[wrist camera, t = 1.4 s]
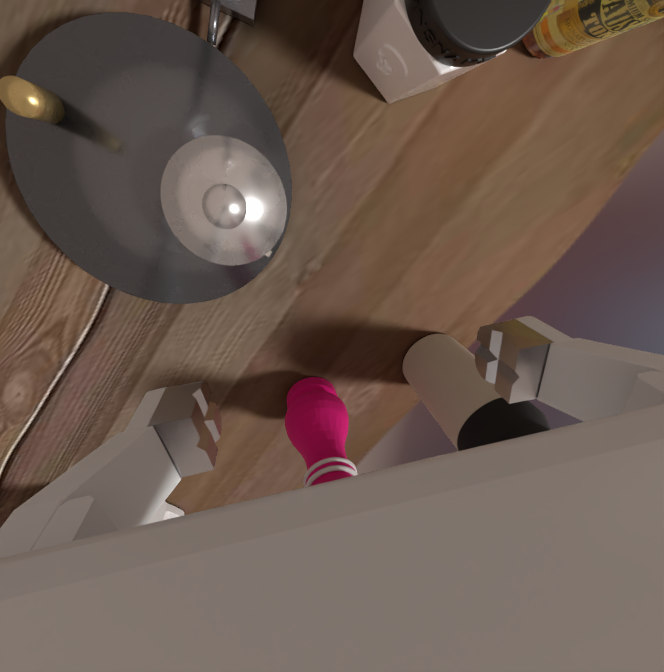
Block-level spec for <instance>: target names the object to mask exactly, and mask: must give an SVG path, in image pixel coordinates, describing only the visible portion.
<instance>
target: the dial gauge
mask: <svg viewBox="0 0 664 672" xmlns="http://www.w3.org/2000/svg"><path fill="white" fill-rule="evenodd" d="M197 1H200V2H202V3H204V4H206V5H208V6H210V7H211V9H210V18H209V26H208V35H207V42H209V43H210V44H212V45H216V39H217V31H218V23H219V15H220V11H221V12H223V13H225V14H228V15H230V16H232V17H234V18H236V19H238V20H241V21H243V22H245V23H247V24H249V25H251V26H253V27H254V21H255V15H256V8H257V2H258V0H197Z"/></svg>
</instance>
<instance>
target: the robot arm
mask: <svg viewBox="0 0 664 672" xmlns="http://www.w3.org/2000/svg"><path fill="white" fill-rule="evenodd" d="M477 340H478V342H479V343H480V344H481V345H480V346H479V348H478V349H477V350H476V352H475V364H476V368H477V371H478V372H479V374H480V376H481V377H482V378H483V379H484V380H485V381H488V382H490V383H493V384H495V388H494V390H495V391H496V392H497V393H498V394H499V395H500V396H501V397H502V398H504V399H505V400H506V401H507V402H508V403H509V404H511V403H516V402H521V401H526V400H532V399H537V400H539V401H541V402H543V403H545V404H547V405H549V406H552V407H554V408H556V409H558V410H560V411H562V412H565V413H567V414H569V415H571V416H573V417H575V418H578V419H580V420H582V421H584V422H583V423H579V424H574V425H570V426H565V427H561V428H557V429H552V430H548V431H544V432H539V433H535V434H531V435H526V436H522V437H518V438H514V439H509V440H505V441H501V442H496V443H492V444H488V445H483V446H479V447H475V448H470V449H466V450H462V451H457V452H453V453H449V454H445V455H440V456H436V457H432V458H428V459H423V460H419V461H415V462H410V463H406V464H402V465H398V466H394V467H389V468H385V469H381V470H376V471H372V472H368V473H364V474H359V475H355V476H351V477H346V478H342V479H338V480H334V481H329V482H325V483H321V484H317V485H312V486H308V487H304V488H299V489H295V490H291V491H287V492H282V493H278V494H274V495H269V496H265V497H261V498H256V499H252V500H248V501H244V502H239V503H235V504H231V505H226V506H222V507H218V508H214V509H209V510H205V511H201V512H196V513H192V514H188V515H184V512H183V511H182V510H181V509H179V508H177V507H175V506H173V505H170V504H168V503H167V502H165V499H166V498H167V497H168V496H169V494H170V493H171V492H172V491H173V489H174V488H175V487H176V485H177V484H178V483H179V482H180V480H181V478H182V477H186V476H190V475H194V474H198V473H202V472H206V471H210V470H214V467H215V462H216V456H217V451H218V449H217V446H216V444H215V442H216V441H217V440H218V439H219V438H220V435H221V417H220V413H219V410H218V407H217V405H216V404H215V403H213V402H212V401H210V399H211V395H212V391H211V389H210V387H209V384H208V383H207V382H206V381H199V382H193V383H188V384H182V385H176V386H171V387H165V388H160V389H155V390H151V391H148V392H146V394H145V396H144V397H143V399H142V401H141V403H140V405H139V406H138V408H137V410H136V412H135V413H134V415H133V417H132V419H131V421H130V422H129V424H128V426H127V428H126V429H125V431H124V432H120V433H117V434H116V435H115V436H113V437H112V438H111V439H109V440H108V441H106V442H105V443H104V444H102V445H101V446H100V447H98V448H97V449H96V450H94V451H93V452H92V453H90V454H89V455H88V456H86V457H85V458H84V459H82V460H81V461H80V462H78V463H77V464H76V465H74V466H73V467H71V468H70V469H69V470H67V471H66V472H65V473H63V474H62V475H61V476H59V477H58V478H57V479H55V480H54V481H53V482H51V483H50V484H49V485H47V486H46V487H45V488H43V489H42V490H41V491H39V492H38V493H36V494H35V495H34V496H32V497H31V498H30V499H28V500H27V501H26V502H24V503H23V504H22V505H20V506H19V507H18V508H16V509H15V510H14V511H13V512H12V513H11V515H10V516H9V517H8V519H7V520H6V521H5V523H4V524H3V525H2V527H1V528H0V672H664V355H659V354H654V353H649V352H644V351H639V350H634V349H629V348H625V347H619V346H615V345H610V344H605V343H600V342H595V341H590V340H585V339H580V338H576V339H572V338H570V337H568V336H567V335H565V334H563V333H561V332H560V331H558V330H556V329H554V328H552V327H551V326H549V325H547V324H545V323H543V322H541V321H540V320H538V319H536V318H534V317H531V316H525V317H521V318H517V319H512V320H509V321H505V322H500V323H495V324H491V325H486V326H482V327H480V328H479V330H478V333H477Z"/></svg>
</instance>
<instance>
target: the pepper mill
mask: <svg viewBox="0 0 664 672" xmlns="http://www.w3.org/2000/svg"><path fill="white" fill-rule="evenodd" d="M287 409H288V410H287V412H286V416H285V426H286V430H287V434H288V437H289V439H290V440H291V442H292V444H293V445H294V447H295V448H296V449H297V450H298V451H299V452H300V453H301V455H302V456H303V458H304V460H305V462H306V465H307V472H306V474H305V476H304V487H308V486H312V485H317V484H321V483H325V482H329V481H334V480H338V479H342V478H346V477H351V476H355V475H358V474H357V470H356V467H355V465H354V464H353V463H352V462H351V461H349V460H348V459H347V457H346V453H345V449H344V444H345V440H346V436H347V432H348V423H349V420H348V413H347V410H346V407H345V405H344V403H343V402H342V400H341V399H340V398H339V397H337V394H336V391H335V388H334V387H333V385H332V384H331V383H330V382H329V381H327V380H326V379H323V378H320V377H308V378H305V379H302V380H300V381H298V382H297V383H295V384H294V385H293V386H292V387H291V389H290V390H289V392H288V394H287Z"/></svg>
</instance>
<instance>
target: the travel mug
mask: <svg viewBox="0 0 664 672" xmlns="http://www.w3.org/2000/svg"><path fill="white" fill-rule="evenodd" d="M403 374H404V376H405V378H406V380H407V381H408V382H409V384H410V385H411V386H412V388H413V389H414V391H415V392H416V393H417V395H418V396H419V397H420V399H421V400H422V402H423V403H424V404H425V406H426V407H427V408H428V410H429V411H430V412H431V414H432V415H433V417H434V418H435V419H436V421H437V422H438V424H439V425H440V426H441V428H442V429H443V430H444V432H445V433H446V435H447V436H448V437H449V439H450V440H451V442H452V443H453V444H454V446H455V447H456V448H457V450H458V451H462V450H466V449H470V448H475V447H479V446H483V445H488V444H492V443H496V442H501V441H505V440H509V439H514V438H518V437H522V436H526V435H531V434H535V433H539V432H544V431H548V430H550V427H549V425H548V422H547V419H546V417H545V415H544V414H543V413H542V412H541V411H540V410H539V409H538V408H536V407H535V406H534V405H533V404H532V403H530V402H529V401H528V400H526V401H521V402H516V403H511V404H509V403H508V402H507V401H506V400H505V399H504V398H502V397H501V396H500V395H499V394H498V393H497V392H496V391H495V390H494V388H495V384H493V383H490V382H488V381H485V380H484V379H483V378H482V377H481V376H480V374H479V372H478V371H477V368H476V364H475V356H474V355H473V354H472V353H470V352H469V351H468V350H467V349H466V348H464V347H463V346H462V345H461V344H460V343H458V342H457V341H456V340H455V339H454V338H452V337H451V336H448V335H446V334H432V335H428V336H426V337H424V338H422V339H420V340H419V341H417V342H416V343H415V344H414V345H413V346H412V347H411V348H410V349H409V350H408V352H407V353H406V355H405V358H404V361H403Z"/></svg>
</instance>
